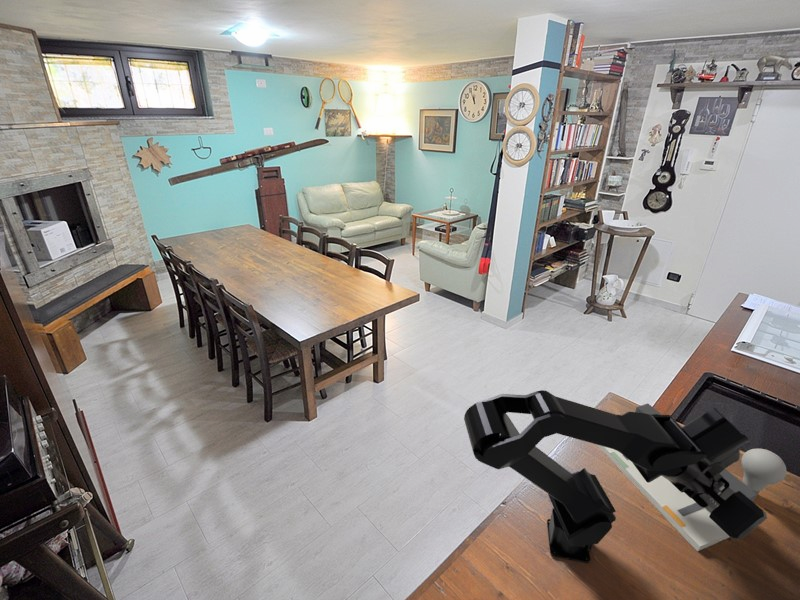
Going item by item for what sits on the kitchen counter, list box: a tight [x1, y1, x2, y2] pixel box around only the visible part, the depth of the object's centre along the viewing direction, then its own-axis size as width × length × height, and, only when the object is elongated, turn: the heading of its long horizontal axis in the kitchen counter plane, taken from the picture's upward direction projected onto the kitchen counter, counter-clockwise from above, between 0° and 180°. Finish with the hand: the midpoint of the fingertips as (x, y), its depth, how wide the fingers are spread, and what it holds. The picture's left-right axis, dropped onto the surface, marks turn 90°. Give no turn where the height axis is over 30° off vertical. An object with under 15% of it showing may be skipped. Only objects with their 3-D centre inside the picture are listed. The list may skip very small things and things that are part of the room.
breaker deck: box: [596, 444, 731, 552], centre depth 78 cm, size 13×24×3 cm, turn 17°
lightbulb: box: [740, 448, 787, 496], centre depth 73 cm, size 6×6×11 cm
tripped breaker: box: [706, 468, 758, 513], centre depth 71 cm, size 3×10×8 cm, turn 17°
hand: (709, 487), depth 70 cm, fingers closed, pressing on tripped breaker
